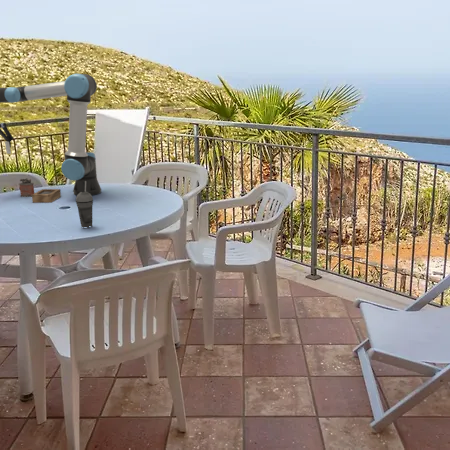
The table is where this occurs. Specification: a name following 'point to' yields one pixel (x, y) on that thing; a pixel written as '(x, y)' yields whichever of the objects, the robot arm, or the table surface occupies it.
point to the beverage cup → (85, 207)
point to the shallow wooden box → (46, 196)
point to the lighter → (26, 188)
